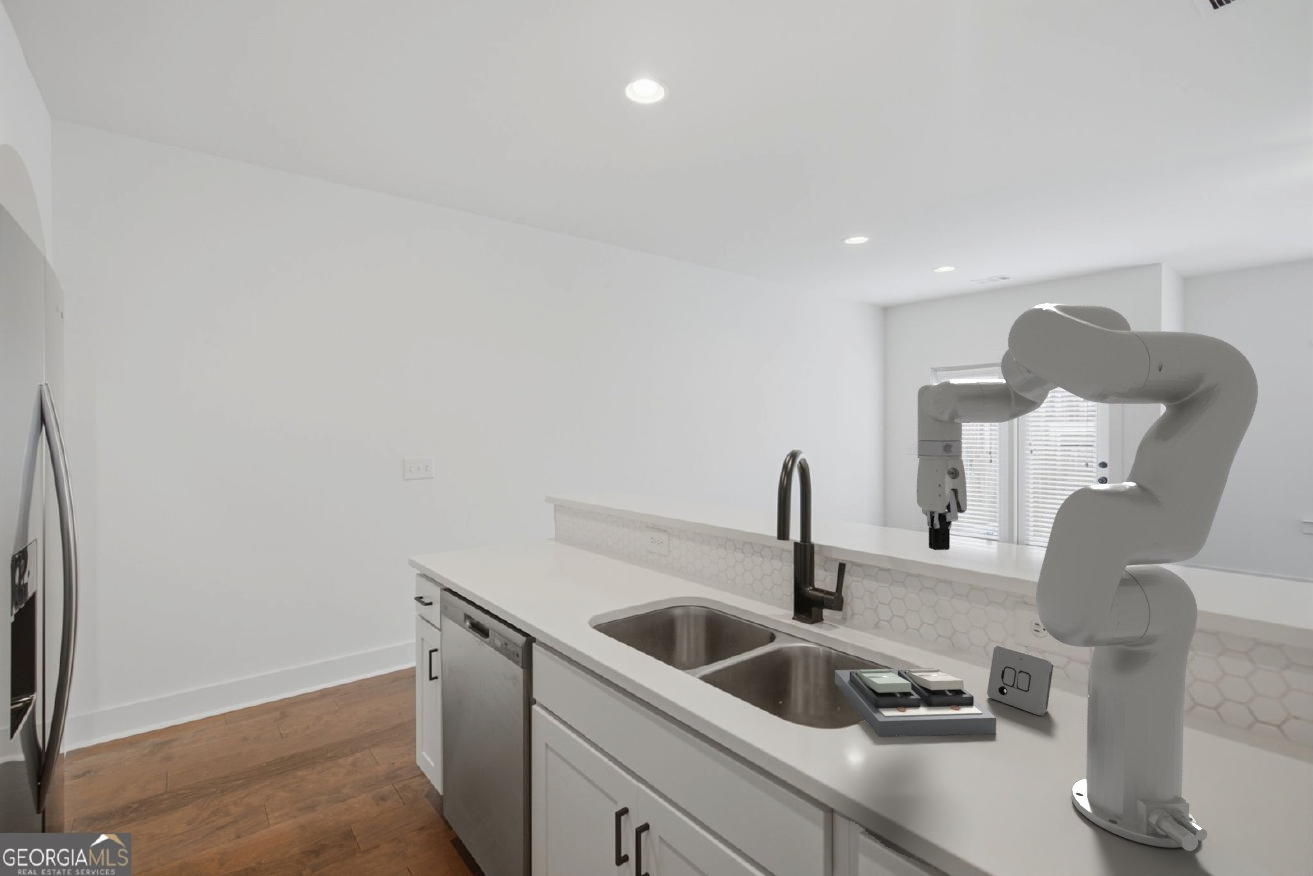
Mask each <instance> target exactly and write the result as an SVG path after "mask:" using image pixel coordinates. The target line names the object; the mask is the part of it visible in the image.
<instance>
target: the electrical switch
mask: <svg viewBox="0 0 1313 876" xmlns="http://www.w3.org/2000/svg"><path fill="white" fill-rule="evenodd" d="M1053 672H1054V664H1052V662H1051V660H1050V659H1048V658H1044V657H1040V656H1038V655H1033V654H1029V653H1028V652H1027V653H1026V652H1024V651H1020V650H1017V649H1012V648H1009V647H1006V646H1002V645H996V646H995V647H993V650H992V659H991V665H990V672H989V677H988V684H987V692H986V694H987V696H988V697H989V699H993V700H994V701H998V702H1000V703H1003V704H1005V705H1006V704H1007V705H1009V706H1012V707H1015V708H1018V709H1020V710H1023V711H1026V712H1029V713H1032V714H1034V715H1037V716H1041V717H1042V716H1044V715H1045V713H1046V711H1048V706H1049V700H1050V692H1051V684H1052V678H1053Z"/></svg>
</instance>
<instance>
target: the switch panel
mask: <svg viewBox="0 0 1313 876" xmlns="http://www.w3.org/2000/svg"><path fill="white" fill-rule="evenodd" d="M873 669H874V668H873ZM873 669H865V670H873ZM887 669H888V670H890V672H891V673H893V674H895V675H898V676H899V677H901V678H903V679H905V680H907V681H909V682H910V683H911V691H912V692H877V691H875V690H874V689H872V688H871V687H869V686H867V685H866V684H864V683H863V682H862V680H861V679H860V678H859V677H858V672H859V670H860V669H837V670H834V684H835V685H836V687H837V688H838V689H839V691H841V693H842V694H843V695H844V696H845V698H846V699H847V700H848V701H849V702H850V704H851V705H852V706H853V707H854V708H855V710H856V711H857V712H858V713H859V715H860V716H861V717H862V718H863V719H864V721H865V722H866V723H867V725H868V726H869V727H870V728H871V729H872V730H873V732H874V733H875V734H876V735H877V737H879V738H885V737H917V736H918V737H920V736H946V735H947V736H948V735H949V736H950V735H978V734H979V735H981V734H983V735H985V734H997V717H996V715H994V714H992V713H991V712H990V711H988V710H987V709H986V708H985V707H983V706H982V705H981V704H980V703H978V701H976V700H975V697H974V695H973V694H971V693H970V692H969V691H967V689H965V688H964V689H947V690H930V689H928V688H926V687H923V686H920V685H919V684H916V683H915V682H914V681H913V680H912V679H911V678H910V677H908V676H907V675H906V671H908V669H935V668H934V667H914V668H913V667H912V668H909V667H908V668H887ZM937 669H938V670H939V672H942V673H944V672H943V671H942V670H940V669H939V668H937Z"/></svg>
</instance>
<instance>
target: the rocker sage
mask: <svg viewBox="0 0 1313 876" xmlns="http://www.w3.org/2000/svg"><path fill="white" fill-rule="evenodd" d="M888 669H889V668H877V669H874V668H873V670H866V669H858V670H859V672H858V677H859V678H860V679H861V680H862V682H863V683H864V684H866V685H867V686H869V687H871V688H872V689H874V690H875V691H877V692H912V691H911V683H910V682H909V681H907V680H905V679H903V678H901V677H899V676H898V675H895V674H893V673H891V672H890V670H888Z"/></svg>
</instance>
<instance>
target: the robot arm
mask: <svg viewBox="0 0 1313 876" xmlns="http://www.w3.org/2000/svg"><path fill="white" fill-rule="evenodd" d="M1007 347H1008V349H1007V350H1006V351H1005V352H1004V354H1003V355H1002V358H1001V362H1000V368H1001V370H1000V371H1001V374H1002V377H1003V378H1002V379H948V380H944V381H942V382H940V383H931V384H924V385H922V386H921V387H919V389H918V391H917V459H918V464H917V465H918V466H917V475H916V503H917V506H918V507H920V508H921V513H922V514H923V515H925V517H926V523H927V527H928V548H929V549H931V550H933V551H949V550H950V549H951V546H950V545H951V543H950V542H951V541H950V540H951V538H950V537H951V536H950V535H951V528H952V525H953V524H952V523H953V522H957V521H959V514H964V513H965V512H966V511H967V508H968V495H967V479H966V471H965V466H964V465H965V464H964V460H963V453H962V452H963V449H962V448H963V424H972V423H973V424H974V423H975V424H976V423H977V424H978V423H981V424H995V423H996V424H997V423H999V424H1000V423H1004V422H1009V421H1012V420H1015V419H1018V418H1020V417H1022V416H1025V415H1028V414H1030V413H1031V412H1034V411H1036V410H1038V409H1039V408H1040V407H1041V406H1042V405H1043V404H1044V402H1045V401H1046V399H1047V398H1048V396H1049V394H1050V391H1053V390H1056V389H1057V388H1061V389H1062V390H1064V391H1066V392H1068V393H1069V394H1072V395H1074V396H1076V397H1078V398H1080V399H1084V400H1087V401H1088V402H1092V403H1101V404H1107V405H1108V404H1109V405H1110V404H1111V405H1117V404H1119V405H1121V404H1122V405H1123V404H1126V405H1129V404H1132V405H1137V404H1138V405H1142V404H1143V405H1146V404H1147V405H1148V404H1154V405H1156V404H1158V405H1160V404H1162V405H1163V406H1164V407H1165V410H1164V412H1163V414H1162V415H1160V416H1159V418H1157V420H1156V421H1154V423H1152V425H1151V426H1150V427H1149V428H1148V429H1147V430H1146V432H1145V433H1144V435H1143V436H1142V438H1141V440H1140V442H1139V444H1138V446H1137V449H1136V452H1135V456H1134V457H1135V458H1134V461H1133V464H1132V466H1131V469H1130V471H1129V474H1128V476H1127V477H1126V480H1124V481H1122V482H1121V483H1102V484H1092V485H1087V486H1084V487H1082V488H1079V489H1077V490H1075V491H1074V492H1072V493H1071V494H1070V495H1068V497H1066V498H1065V499H1064V501H1063V502H1062V504H1061V505H1060V506H1059V508H1058V509H1057V512H1056V514H1055V517H1054V519H1053V522H1052V527H1051V529H1050V534H1049V538H1048V542H1047V546H1046V548H1045V549H1046V550H1045V554H1044V557H1043V561H1042V565H1041V567H1040V568H1041V569H1040V572H1039V577H1038V580H1037V581H1038V582H1037V584H1036V585H1037V586H1036V592H1035V605H1036V611H1037V612H1036V613H1037V615H1038V619H1039V621H1040V623H1041V625H1042V626H1043V628H1044V629H1045V631H1046V632H1047V633H1048V634H1049V635H1050V636H1051V637H1052V638H1053V639H1055V640H1057V641H1058V642H1060V643H1063V644H1064V645H1065V644H1066V645H1068V646H1071V647H1080V648H1082V647H1083V648H1093V651H1092V654H1091V657H1090V660H1089V667H1088V678H1087V679H1088V681H1087V682H1088V683H1087V715H1086V716H1087V717H1086V718H1087V719H1086V720H1087V723H1086V724H1087V725H1086V727H1087V729H1086V766H1085V768H1086V770H1085V772H1086V773H1085V774H1086V776H1085V778H1084V779H1081V780H1079V781H1076V782H1075V783H1074V784H1073V785H1072V787H1071V801H1072V804H1073V805H1074V806H1075V808H1076V809H1077V810H1078V811H1079V812H1080V813H1081V814H1082V815H1083V816H1085V818H1087V819H1088V820H1089V821H1091V822H1092V823H1094V824H1095V825H1097V826H1099V827H1100V828H1102V829H1104V830H1106V831H1108V832H1109V833H1112V834H1114V835H1117V836H1119V837H1122V838H1123V839H1126V840H1130V841H1133V842H1136V843H1140V844H1144V845H1148V846H1153V847H1161V848H1171V849H1172V848H1173V849H1174V848H1175V849H1176V848H1182V849H1184V850H1185V851H1187V852H1193V851H1194V850H1196V848H1197V847H1198V845H1199V841H1205V840H1206V839H1207V837H1208V832H1207V830H1206V829H1205V828H1203V827H1202V826H1200V825H1198V822H1197V820H1196V818H1195V817H1194V816H1193V815H1192V814H1191V813H1190V802H1189V801H1187V800H1186V799H1185V798H1184V797H1183V766H1184V765H1183V760H1184V759H1183V758H1184V756H1183V755H1184V721H1185V720H1184V717H1185V716H1184V715H1185V713H1184V712H1185V711H1184V709H1185V699H1186V697H1185V696H1186V695H1185V693H1186V691H1185V690H1186V676H1187V675H1186V674H1187V666H1188V665H1187V663H1188V658H1189V653H1190V649H1191V646H1192V642H1193V639H1194V635H1195V631H1196V626H1197V621H1198V604H1197V599H1196V598H1195V595H1194V592H1193V591H1192V588H1191V587H1190V586H1189V585H1188V584H1187V582H1186V581H1185V580H1184V579H1183V578H1182V577H1180V576H1179V575H1178V574H1177V573H1175V572H1173V571H1171V570H1170V569H1167V568H1165V567H1162V566H1159V565H1160V564H1161V565H1162V564H1164V565H1165V564H1174V563H1179V562H1185V561H1187V560H1190V559H1192V558H1195V557H1196V556H1197V555H1198V554H1199V553H1200V551H1202V549H1203V548H1204V546H1205V544H1206V542H1207V539H1208V537H1209V535H1210V531H1211V529H1212V525H1213V522H1214V520H1215V517H1216V514H1217V512H1218V508H1219V506H1220V502H1221V499H1222V496H1223V493H1224V491H1225V489H1226V488H1225V487H1226V486H1227V482H1228V478H1229V475H1230V471H1231V468H1232V465H1233V462H1234V459H1235V457H1236V455H1237V452H1238V450H1239V448H1240V446H1241V444H1242V441H1243V439H1244V437H1245V435H1246V433H1247V431H1248V429H1249V426H1250V425H1251V421H1252V419H1253V416H1254V415H1255V414H1254V413H1255V411H1256V408H1257V404H1258V403H1257V402H1258V397H1259V396H1258V395H1259V386H1258V380H1257V376H1256V372H1255V370H1254V368H1253V367H1252V364H1251V362H1250V361H1249V360H1248V358H1247V357H1246V356H1245V355H1244V354H1243V353H1242V352H1241V351H1240V350H1239V349H1238V348H1236V347H1235V346H1234V345H1232V344H1230V343H1228V342H1226V341H1224V340H1222V339H1220V338H1217V337H1214V336H1211V335H1205V334H1202V333H1194V332H1186V331H1166V330H1165V331H1161V330H1160V331H1158V330H1157V331H1156V330H1155V331H1151V330H1150V331H1144V330H1142V331H1141V330H1132V328H1131V325H1130V323H1129V322H1128V320H1127V318H1126V317H1124V316H1123V315H1122V314H1121V313H1119V312H1118V311H1116V310H1114V309H1112V308H1109V307H1105V306H1101V305H1094V304H1093V305H1091V304H1090V305H1089V304H1087V305H1086V304H1064V303H1045V304H1044V303H1043V304H1038V305H1036V306H1033V307H1031V308H1029V309H1027V310H1025V311H1024V312H1023V313H1022V314H1020V315H1019V316H1018V318H1017V319H1016V320H1014V322H1013V324H1012V325H1011V327H1010V331H1009V332H1008V337H1007Z"/></svg>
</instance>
